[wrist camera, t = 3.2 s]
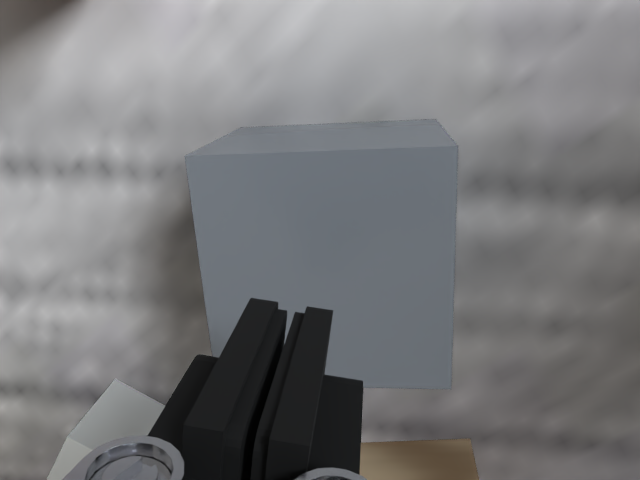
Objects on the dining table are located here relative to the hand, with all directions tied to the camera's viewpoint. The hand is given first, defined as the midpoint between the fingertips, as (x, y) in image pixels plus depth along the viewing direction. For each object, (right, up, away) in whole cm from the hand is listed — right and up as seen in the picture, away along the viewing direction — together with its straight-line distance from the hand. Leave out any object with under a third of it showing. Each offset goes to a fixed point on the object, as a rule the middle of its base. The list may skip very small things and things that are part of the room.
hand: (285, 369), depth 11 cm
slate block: (+2, +3, +10) cm, 10 cm away
